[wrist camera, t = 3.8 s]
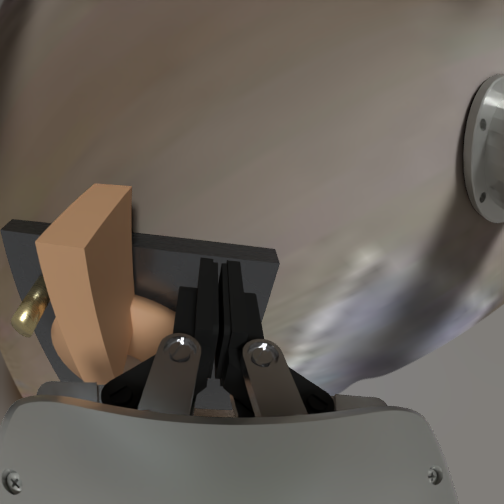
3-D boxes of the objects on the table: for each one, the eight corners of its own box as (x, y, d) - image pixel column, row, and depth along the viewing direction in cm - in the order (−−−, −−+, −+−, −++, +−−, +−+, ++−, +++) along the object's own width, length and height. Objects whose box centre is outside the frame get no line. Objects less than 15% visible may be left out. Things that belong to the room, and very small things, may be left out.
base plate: (275, 249, 17) (295, 314, 12) (231, 397, 26) (234, 445, 21) (12, 219, 13) (-34, 265, 9) (66, 373, 23) (53, 415, 18)
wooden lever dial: (236, 198, 13) (246, 267, 8) (203, 398, 22) (204, 452, 18) (20, 180, 11) (-44, 229, 6) (78, 378, 20) (65, 428, 15)
